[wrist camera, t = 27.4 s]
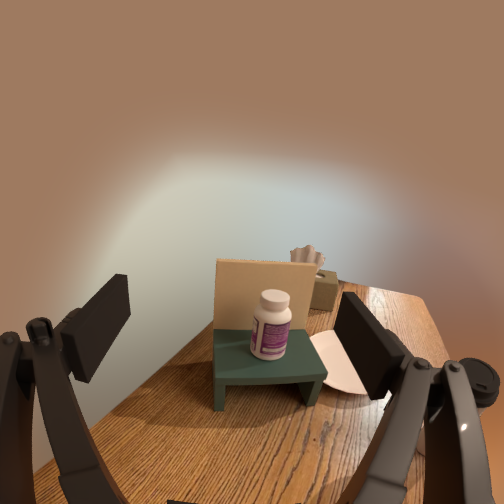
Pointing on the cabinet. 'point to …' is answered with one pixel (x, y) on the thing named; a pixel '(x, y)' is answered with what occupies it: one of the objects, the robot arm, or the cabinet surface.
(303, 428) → the cabinet surface
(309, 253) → the tissue box
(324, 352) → the plate
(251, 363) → the green and tan chair
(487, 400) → the coffee cup
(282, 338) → the pill bottle
